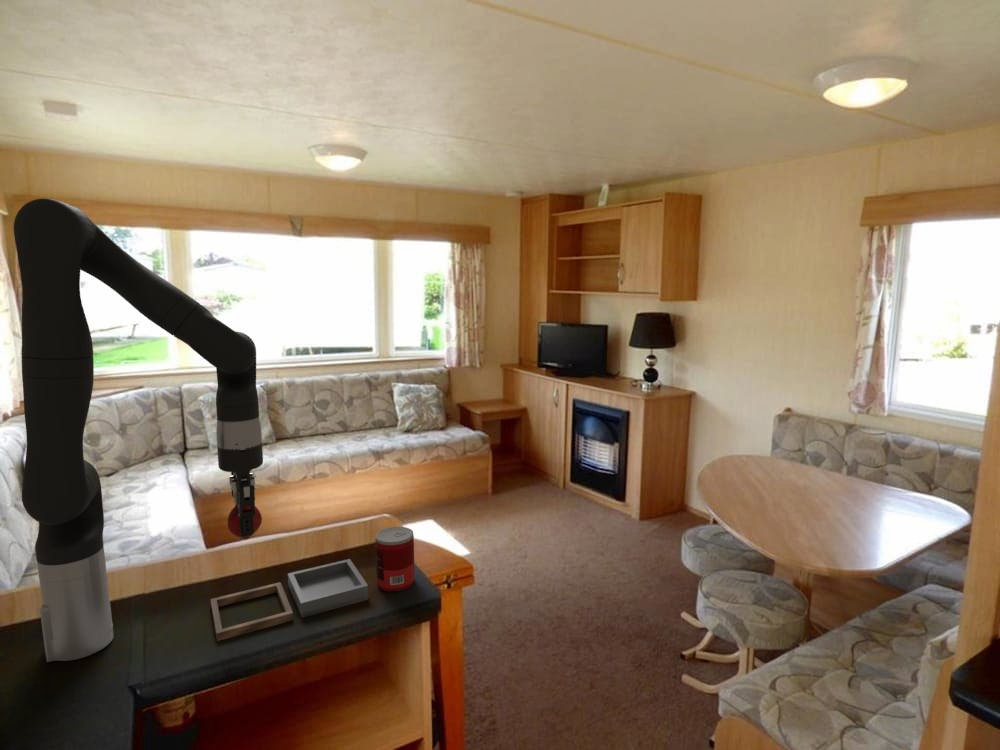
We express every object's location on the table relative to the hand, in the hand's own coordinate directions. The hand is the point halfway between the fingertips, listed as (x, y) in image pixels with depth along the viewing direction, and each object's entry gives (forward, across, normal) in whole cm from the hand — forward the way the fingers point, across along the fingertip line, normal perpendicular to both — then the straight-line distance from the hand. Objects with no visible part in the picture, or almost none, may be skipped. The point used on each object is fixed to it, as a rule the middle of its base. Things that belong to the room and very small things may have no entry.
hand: (244, 528), depth 109 cm
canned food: (+17, +3, +28) cm, 33 cm away
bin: (+17, 0, +15) cm, 23 cm away
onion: (+2, 0, 0) cm, 2 cm away
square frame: (+17, 0, 0) cm, 17 cm away
